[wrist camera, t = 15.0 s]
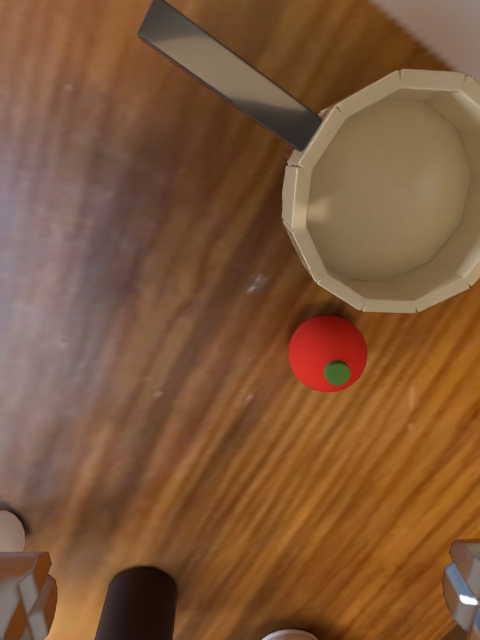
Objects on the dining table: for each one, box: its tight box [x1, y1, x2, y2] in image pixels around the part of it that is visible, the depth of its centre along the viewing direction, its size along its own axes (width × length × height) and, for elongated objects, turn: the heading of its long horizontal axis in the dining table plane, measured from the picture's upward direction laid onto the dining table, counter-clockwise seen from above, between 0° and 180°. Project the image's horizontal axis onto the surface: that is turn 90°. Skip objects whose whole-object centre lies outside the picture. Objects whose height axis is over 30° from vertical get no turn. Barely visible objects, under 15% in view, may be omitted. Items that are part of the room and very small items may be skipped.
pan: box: [137, 0, 480, 313], centre depth 21 cm, size 16×9×12 cm, turn 58°
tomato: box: [288, 315, 367, 392], centre depth 29 cm, size 5×5×6 cm
